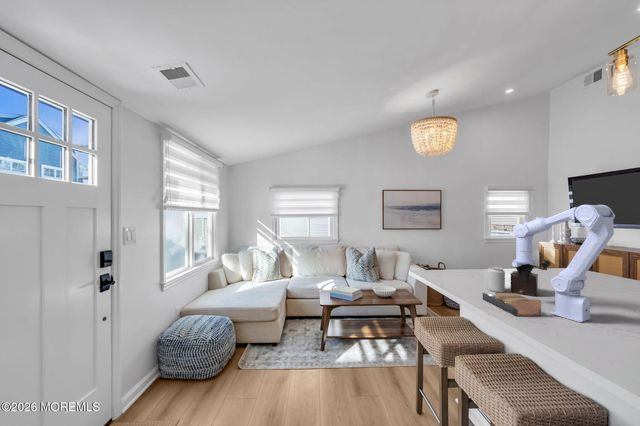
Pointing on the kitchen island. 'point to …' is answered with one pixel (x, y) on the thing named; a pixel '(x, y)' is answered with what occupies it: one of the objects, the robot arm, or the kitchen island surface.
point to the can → (496, 279)
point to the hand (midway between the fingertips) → (524, 281)
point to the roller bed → (516, 305)
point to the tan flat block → (509, 297)
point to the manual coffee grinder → (529, 286)
